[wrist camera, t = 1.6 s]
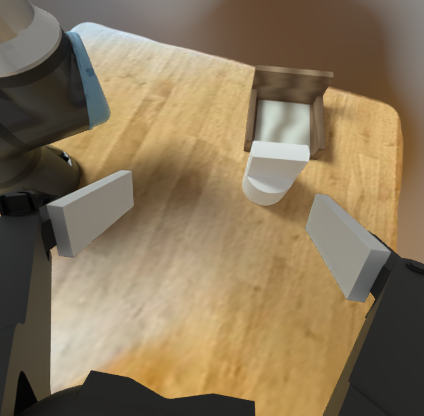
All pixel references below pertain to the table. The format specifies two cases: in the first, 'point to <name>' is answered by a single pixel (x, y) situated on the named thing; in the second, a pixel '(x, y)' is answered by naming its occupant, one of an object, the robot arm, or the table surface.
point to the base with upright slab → (272, 170)
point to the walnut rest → (287, 107)
